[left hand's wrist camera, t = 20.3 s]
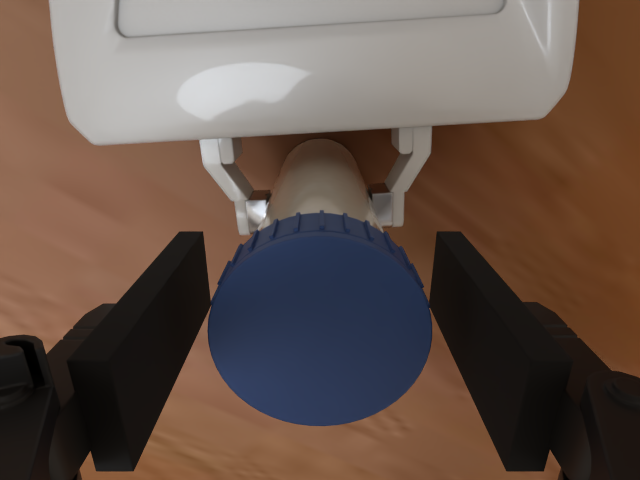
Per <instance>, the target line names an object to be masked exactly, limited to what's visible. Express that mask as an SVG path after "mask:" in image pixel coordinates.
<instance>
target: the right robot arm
mask: <svg viewBox="0 0 640 480" xmlns="http://www.w3.org/2000/svg"><path fill="white" fill-rule="evenodd" d="M49 8H50V19H51V28H52V38H53V46H54V52H55V59H56V66H57V72H58V78H59V83H60V88H61V93H62V98H63V103H64V107H65V111H66V115H67V117H68V120H69V122H70V123H71V124H72V125H73V126H74V127H75V128H76V129H77V130H78V131H79V132H80V133H81V134H82V135H83V136H84V137H85V138H86V139H87V140H88V141H89V142H91V143H92V144H94V145H118V144H135V143H152V142H169V141H186V140H199V142H200V148H201V154H202V160H203V166H204V167H205V169H206V170H207V171H208V172H209V174H210V175H211V176H212V177H213V179H214V180H215V181H216V182H217V184H218V185H219V186H220V187H221V189H222V190H223V191H224V193H225V194H226V195H227V196H228V198H229V199H230V200H231V201H234V203H235V210H236V217H237V225H238V231H239V234H240V235H251V234H254V231H255V230H257V228H258V225H259V223H260V220H261V218H262V215H263V213H264V210H265V208H266V205H267V203H268V200H269V198H270V195H271V192H270V190H254V189H253V188H252V186H251V185H250V183H249V182H248V180H247V179H246V178H245V176H244V175H243V173H242V172H241V170H240V169H239V168H238V166H237V165H236V163H235V162H234V161H235V160H236V159H237V158H238V157H239V156H240V155H241V154H242V153H243V152H242V143H241V137H253V136H270V135H287V134H304V133H321V132H338V131H355V130H372V129H389V128H391V144H392V145H393V146H394V147H395V148H396V149H397V150H398V151H399V152H400V154H399V156H398V158H397V160H396V162H395V163H394V165H393V167H392V169H391V171H390V173H389V174H388V176H387V178H386V180H385V183H380V184H368V193H369V195H370V198H371V200H372V203H373V205H374V208H375V210H376V213H377V215H378V218H379V220H380V223H381V225H382V228H384V227H402V226H403V222H404V192H406V191H408V189H409V188H410V186H411V184H412V183H413V181H414V180H415V178H416V176H417V175H418V173H419V172H420V170H421V168H422V167H423V165H424V163H425V162H426V160H427V159H428V157H429V155H430V154H431V140H432V126H439V125H456V124H473V123H490V122H507V121H523V120H539V119H542V118H544V117H545V116H546V115H547V114H548V113H549V112H550V111H551V110H552V109H553V108H554V106H555V105H556V104H557V103H558V101H559V100H560V99H561V98H562V96H563V95H564V94H565V92H566V90H567V88H568V85H569V81H570V77H571V72H572V66H573V59H574V51H575V43H576V34H577V24H578V10H579V0H49Z"/></svg>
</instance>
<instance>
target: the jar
mask: <svg viewBox="0 0 640 480" xmlns="http://www.w3.org/2000/svg"><path fill="white" fill-rule="evenodd" d="M320 210H324V213H333V214H339V215H343V213H347V215H348V217H352V218H355V219H358V220H360V221H363V222H365V220H367V221H369V222H370V225H371V226H373V227H375V228H376V229H378V230H380V231H381V232H382V233H384V230H383V228H382V225H381V223H380V220H379V218H378V215H377V213H376V210H375V208H374V205H373V203H372V200H371V198H370V195H369V193H368V190H367V188H366V185H365V183H364V180H363V178H362V175H361V173H360V170H359V168H358V165H357V163H356V161H355V159H354V157H353V155H352V154H351V153H350V152H349V151H348V150H347V149H346V148H345V147H344V146H342V145H341V144H339V143H337V142H335V141H332V140H328V139H312V140H308V141H305V142H303V143H301V144H299V145H298V146H296V147H295V148H294V149H293V150H292V151H291V152H290V153H289V154H288V156H287V157H286V159H285V161H284V163H283V165H282V168H281V170H280V173H279V175H278V178H277V180H276V183H275V185H274V188H273V190H272V193H271V195H270V198H269V200H268V203H267V205H266V208H265V210H264V213H263V215H262V218H261V220H260V223H259V225H258V228H257V229H258V230H259V231H261V230H262V229H263V228H265V227H267V226H269V225H271V224H273V221H274V220H275V219H278V220H282V219H285V218H288V217H291V216H296V213H297V212H300V213H301V214H308V213H320Z"/></svg>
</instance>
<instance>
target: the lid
mask: <svg viewBox="0 0 640 480" xmlns="http://www.w3.org/2000/svg"><path fill="white" fill-rule="evenodd" d="M423 287H424V286H423V284H422V282H421V279H420V277H419V275H418V273H417V271H416V269H415V267H414V265H413V263H412V264H410V262H409V260H408V257H407V255H406V253H405V251H404V249H403V247H402V246H400V247H398V246H397V245H396V244H395V243H394V242H393V241H392V240H391V239H390V237H389V234H388V233H387V232H386V231H385V232H384V233H382V232H381V231H380V230H378V229H376V228H375V227H373V226H371V225H370V222H369V221H367V220H365V222H363V221H360V220H358V219H355V218H352V217H348V215H347V213H343V215H339V214H333V213H324V210H320V213H308V214H301V213H300V212H297V213H296V216H291V217H288V218H285V219H282V220H278V219H275V220H274V221H273V224H271V225H269V226H267V227H265V228H263V229H262V230H261V231H259V230H258V229H257V230H255V231H254V234H253V236H252V237H251V238H250V239H249V240H248V241H247V242H246V243H245V244H244V245H242V244H240V245H239V246H238V249H237V251H236V253H235V255H234V257H233V259H232V261H228V263H227V265H226V267H225V269H224V271H223V273H222V275H221V277H220V279H219V282H218V288H217V290H216V292H215V294H214V296H213V298H212V300H211V303H210V305H212V306H211V310H210V314H209V319H208V342H209V347H210V351H211V355H212V358H213V360H214V363H215V365H216V368H217V370H218V371H219V373H220V375H221V376H222V378H223V379H224V381H225V382H226V383H227V385H228V386H229V387H230V388H231V389H232V390H233V391H234V392H235V393H236V394H237V395H238V396H239V397H240V398H241V399H242V400H244V401H245V402H246V403H247V404H249V405H250V406H252V407H254V408H255V409H257V410H258V411H260V412H262V413H264V414H267V415H269V416H271V417H274V418H276V419H279V420H282V421H286V422H290V423H294V424H300V425H308V426H331V425H340V424H345V423H350V422H354V421H357V420H361V419H364V418H366V417H369V416H371V415H374V414H376V413H378V412H379V411H381V410H383V409H385V408H387V407H388V406H390V405H391V404H392V403H394V402H395V401H397V400H398V399H399V398H400V397H401V396H402V395H403V394H405V393H406V392H407V390H408V389H409V388H410V387H411V386H412V385H413V384H414V382H415V381H416V379H417V378H418V376H419V375H420V373H421V371H422V369H423V367H424V365H425V363H426V361H427V358H428V354H429V351H430V347H431V341H432V321H431V314H430V310H429V308H430V304H429V302H428V300H427V298H426V295H425V293H424V291H423V289H422V288H423Z"/></svg>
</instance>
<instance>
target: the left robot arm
mask: <svg viewBox="0 0 640 480" xmlns="http://www.w3.org/2000/svg"><path fill="white" fill-rule="evenodd" d="M210 303H211V300H210V291H209V282H208V273H207V264H206V255H205V245H204V236H203V232H179V233H178V234H177V235H176V236H175V237H174V238H173V240H172V241H171V242H170V243H169V244H168V245H167V246H166V248H165V249H164V250H163V251H162V252H161V253H160V254H159V256H158V257H157V258H156V259H155V260H154V261H153V262H152V264H151V265H150V266H149V267H148V268H147V269H146V270H145V272H144V273H143V274H142V275H141V276H140V277H139V278H138V280H137V281H136V282H135V283H134V284H133V285H132V286H131V287H130V289H129V290H128V291H127V292H126V293H125V294H124V295H123V297H122V298H121V299H120V300H119V301H118V302H117V303H116V304H102V305H100V306H99V307H97V308H95V309H93V310H92V311H90V312H88V313H87V314H85V315H84V316H83V317H82V318H81V319H80V320H79V321H78V322H77V323H76V324H75V325H74V326H73V329H71V330H70V331H69V332H68V333H67V334H66V335H65V336H64V337H63V340H60V341H59V342H58V343H57V344H56V345H55V346H54V347H53V348H52V349H51V350H50V351H49V352H48V353H47V354H46V353H45V349H44V346H43V342H42V340H40V339H39V338H37V337H36V336H30V335H15V336H7V337H3V338H0V480H82V477H81V473H80V470H79V469H80V467H81V465H82V464H83V462H84V460H85V459H86V457H87V455H88V454H89V452H90V451H91V454H92V458H93V461H94V465H95V469H96V471H134V469H135V467H136V465H137V463H138V461H139V459H140V456H141V454H142V452H143V450H144V448H145V446H146V444H147V441H148V439H149V437H150V435H151V433H152V431H153V429H154V426H155V424H156V422H157V420H158V418H159V416H160V414H161V411H162V409H163V407H164V405H165V403H166V401H167V399H168V396H169V394H170V392H171V390H172V388H173V386H174V383H175V381H176V379H177V377H178V375H179V373H180V371H181V368H182V366H183V364H184V362H185V360H186V358H187V356H188V353H189V351H190V349H191V347H192V345H193V343H194V341H195V338H196V336H197V334H198V332H199V330H200V328H201V326H202V323H203V321H204V319H205V317H206V315H207V313H208V311H209V308H210V306H211V305H210ZM429 304H430V308H431V311H432V313H433V315H434V317H435V319H436V321H437V323H438V326H439V328H440V330H441V332H442V334H443V336H444V338H445V341H446V343H447V345H448V347H449V349H450V351H451V353H452V356H453V358H454V360H455V362H456V364H457V366H458V368H459V371H460V373H461V375H462V377H463V379H464V381H465V383H466V386H467V388H468V390H469V392H470V394H471V396H472V399H473V401H474V403H475V405H476V407H477V409H478V411H479V414H480V416H481V418H482V420H483V422H484V424H485V426H486V429H487V431H488V433H489V435H490V437H491V439H492V441H493V444H494V446H495V448H496V450H497V452H498V454H499V456H500V459H501V461H502V463H503V465H504V467H505V469H506V471H544V469H545V465H546V461H547V458H548V454H549V450H551V452H552V453H553V455H554V457H555V458H556V460H557V461H558V463H559V465H560V466H561V470H560V473H559V477H558V480H640V378H638V377H636V376H633V375H629V374H626V373H623V372H618V371H611V370H610V369H609V368H608V367H607V366H606V365H605V364H604V363H603V361H602V360H601V359H600V358H599V357H598V356H597V355H596V354H595V353H594V352H593V351H592V350H591V349H590V348H589V347H588V346H587V345H586V344H585V343H584V342H583V341H582V340H581V339H580V338H577V335H576V334H575V333H574V332H573V331H572V330H571V329H570V328H567V325H566V324H565V322H564V321H563V320H562V319H561V318H560V317H559V316H558V315H557V314H556V313H555V312H553V311H551V310H549V309H548V308H546V307H544V306H542V305H541V304H539V303H537V302H522V301H521V300H520V299H519V298H518V297H517V295H516V294H515V293H514V292H513V291H512V290H511V289H510V287H509V286H508V285H507V284H506V283H505V282H504V281H503V280H502V278H501V277H500V276H499V275H498V274H497V273H496V272H495V270H494V269H493V268H492V267H491V266H490V265H489V264H488V262H487V261H486V260H485V259H484V258H483V257H482V256H481V254H480V253H479V252H478V251H477V250H476V249H475V248H474V246H473V245H472V244H471V243H470V242H469V241H468V240H467V238H466V237H465V236H464V235H463V234H462V233H461V232H437V236H436V245H435V255H434V264H433V273H432V282H431V291H430V300H429Z"/></svg>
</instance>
